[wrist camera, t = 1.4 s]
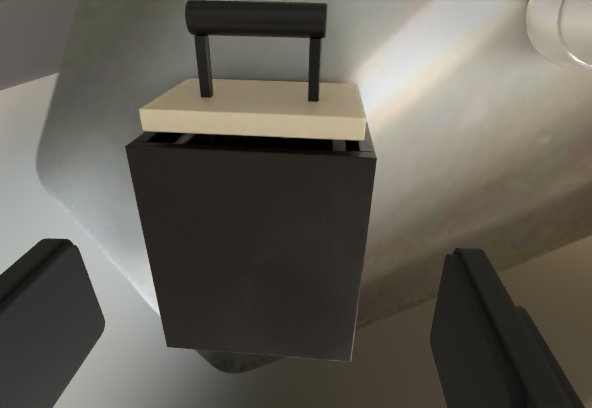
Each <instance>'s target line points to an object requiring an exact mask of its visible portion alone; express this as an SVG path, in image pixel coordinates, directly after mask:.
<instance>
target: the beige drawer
mask: <svg viewBox="0 0 592 408" xmlns="http://www.w3.org/2000/svg"><path fill="white" fill-rule="evenodd" d="M185 18H186V24H187V28H188V31H189V32H190V34H192V35H195V36H194V37H195V47H196V56H197V66H198V76H199V78H188V79H187V80H185V81H183V82H182V83H180V84H179V85H177V86H175V87H174V88H172V89H170V90H169V91H167V92H166V93H164V94H162V95H161V96H159V97H158V98H156V99H154V100H153V101H151V102H149V103H148V104H146V105H145V106H143V107H141V108H140V109H139V113H140V119H141V124H142V130H143V131H151V132H174V133H183V134H182V135H181V136H180V137H179V138H178V139H177V140H176V141H175V142H174V143H176V144H199V145H221V146H243V147H265V148H287V149H309V150H331V151H346V140H358V141H363V140H364V137H365V127H366V116H365V112H364V108H363V104H362V101H361V97H360V93H359V89H358V86H357V84H347V83H320V67H321V45H322V38H325V37H326V23H327V3H298V2H251V1H204V0H189V1H188V2H187V4H186V8H185ZM208 35H221V36H258V37H295V38H310V49H309V81H308V82H289V81H259V80H230V79H212V72H211V61H210V49H209V38H208Z"/></svg>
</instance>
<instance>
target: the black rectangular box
mask: <svg viewBox="0 0 592 408" xmlns="http://www.w3.org/2000/svg"><path fill="white" fill-rule="evenodd" d="M182 134H183V133H174V132H151V131H145V132H144V133H143V134H142V135H140V136H139V137H138V138H136V139H135V140H134V141H133V142H131V143H129V144H128V145H127V146H125V148H126V153H127V158H128V163H129V167H130V172H131V177H132V182H133V187H134V191H135V196H136V201H137V206H138V210H139V215H140V220H141V225H142V230H143V234H144V239H145V244H146V249H147V253H148V258H149V263H150V268H151V272H152V277H153V282H154V287H155V292H156V296H157V301H158V306H159V311H160V315H161V320H162V325H163V330H164V335H165V339H166V344H167V347H173V348H186V349H198V350H211V351H224V352H236V353H249V354H261V355H274V356H287V357H300V358H312V359H325V360H338V361H351V357H352V350H353V342H354V334H355V326H356V318H357V310H358V303H359V295H360V287H361V279H362V271H363V263H364V255H365V247H366V240H367V232H368V224H369V216H370V208H371V200H372V192H373V184H374V176H375V169H376V161H377V158H376V154H375V151H374V147H373V143H372V139H371V136H370V132H369V128H368V124H367V120H366V127H365V137H364V140H363V141H358V140H346V151H331V150H309V149H287V148H265V147H243V146H221V145H199V144H176V143H174V142H175V141H176V140H177V139H178V138H179V137H180V136H181V135H182Z"/></svg>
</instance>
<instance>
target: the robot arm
mask: <svg viewBox="0 0 592 408" xmlns="http://www.w3.org/2000/svg"><path fill="white" fill-rule="evenodd" d="M104 327H105V320H104V317H103V314H102V311H101V308H100V306H99V303H98V300H97V297H96V295H95V292H94V289H93V287H92V284H91V281H90V278H89V276H88V273H87V270H86V268H85V265H84V262H83V260H82V257H81V254H80V251H79V249H78V247H77V246H76V245H73V243H72V242H71V241H70V240H68V239H43V240H41V241H40V242H38V243H37V244H36V245H35V246H34V247H32V248H31V249H30V250H29V251H28V252H27V253H25V254H24V255H23V256H22V257H21V258H20V259H19V260H17V261H16V262H15V263H14V264H13V265H11V267H9V268H8V269H7V270H6V271H5V272H3V273H2V274H1V275H0V408H53V406H54V405H55V403H56V402H57V400H58V399H59V397H60V396H61V394H62V393H63V391H64V389H65V388H66V387H67V385H68V384H69V382H70V381H71V379H72V378H73V376H74V375H75V374H76V372H77V371H78V369H79V368H80V366H81V365H82V363H83V362H84V360H85V359H86V357H87V356H88V354H89V353H90V351H91V350H92V348H93V347H94V345H95V344H96V342H97V341H98V339H99V338H100V336H101V335H102V333H103V331H104ZM430 341H431V342H430V343H431V349H432V353H433V356H434V360H435V364H436V367H437V371H438V374H439V378H440V382H441V386H442V389H443V393H444V397H445V400H446V404H447V407H448V408H585V407H584V405H583V404H582V402H581V400H580V399H579V397H578V395H577V394H576V392H575V390H574V389H573V387H572V385H571V384H570V382H569V381H568V379H567V377H566V375H565V374H564V372H563V370H562V369H561V367H560V365H559V364H558V362H557V360H556V359H555V357H554V355H553V354H552V352H551V351H550V349H549V347H548V345H547V344H546V342H545V340H544V339H543V337H542V335H541V334H540V332H539V330H538V329H537V327H536V325H535V324H534V322H533V321H532V319H531V317H530V316H529V314H528V313H527V311H526V310H525V309H524V308H522V307H521V306H515V305H514V303H513V301H512V299H511V298H510V296H509V294H508V293H507V291H506V289H505V287H504V286H503V284H502V282H501V280H500V279H499V277H498V275H497V273H496V272H495V270H494V268H493V266H492V265H491V263H490V261H489V259H488V258H487V256H486V254H485V253H484V251H483V250H482V249H470V248H456V249H455V250H454V252H453V254H447V255H446V257H445V261H444V266H443V272H442V277H441V282H440V287H439V292H438V297H437V303H436V308H435V313H434V318H433V323H432V329H431V335H430Z"/></svg>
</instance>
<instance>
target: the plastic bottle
mask: <svg viewBox="0 0 592 408" xmlns="http://www.w3.org/2000/svg"><path fill="white" fill-rule="evenodd" d="M525 20H526V31H527V34H528V37H529V40H530V42H531V43H532V45H533V47H534V48H535V49H536V50H537V51H538V52H539V53H541V54H542V55H543V56H544V57H545V58H547V59H548V60H549V61H551V62H553V63H555V64H557V65H560V66H564V67H568V68H589V69H592V0H529V2H528V6H527V11H526V19H525Z"/></svg>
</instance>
